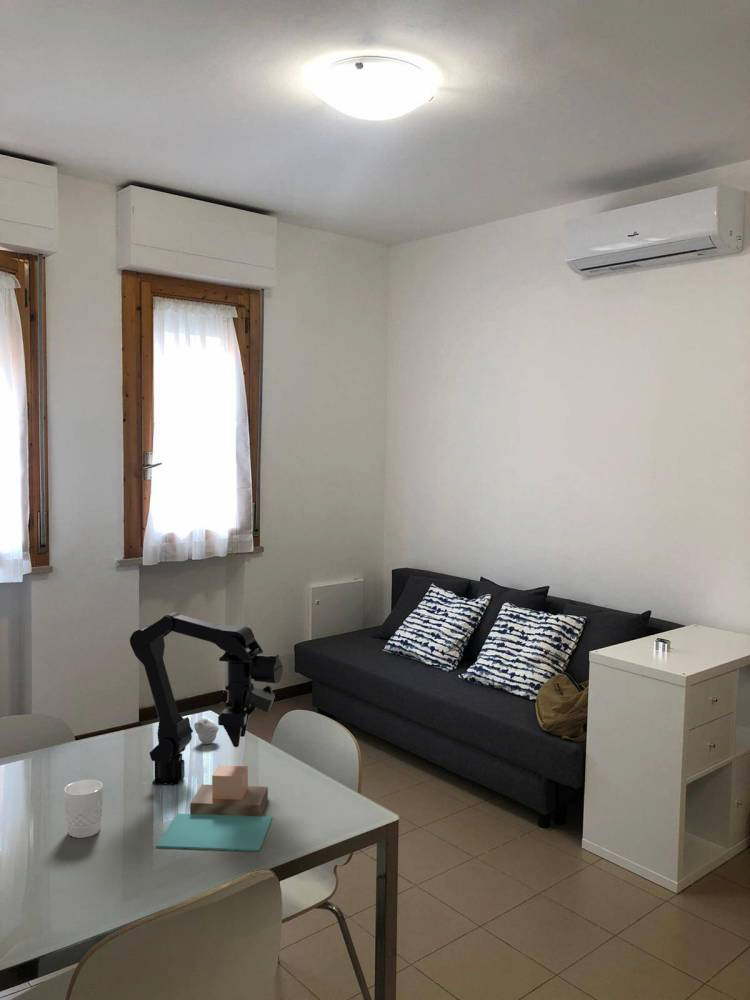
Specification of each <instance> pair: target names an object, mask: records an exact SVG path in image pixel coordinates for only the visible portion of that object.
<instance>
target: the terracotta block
mask: <svg viewBox="0 0 750 1000" xmlns="http://www.w3.org/2000/svg"><path fill="white" fill-rule="evenodd" d="M248 768H249V766H248V765H218V766H217V767H216V769H215V770H214V772H213V774H212V775H211V785H212V799H235V800H242V799H243V797H244V795H245V793H246V791H247V789H248V786H249V775H248V772H249V769H248Z"/></svg>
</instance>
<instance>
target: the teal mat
mask: <svg viewBox="0 0 750 1000" xmlns="http://www.w3.org/2000/svg"><path fill="white" fill-rule="evenodd" d="M272 821H273V816H264V815H261V816H237V815H209V814H190V813H179V812H178V813H177V814H175V817H174V818H173V820H171V822H170V823H169V825H168V827H167V828H166V830H165V832H164V833H163V834H162V836H161V837H160V839H159V841H158V843H156V845H155V846H156V848H162V849H183V848H187V850H188V849H189V850H209V849H212V850H213V849H214V851H235V850H238V852H239V851H241V852H243V851H244V852H260V851H259V850H261V848H262V846H263V843H264V841H265V838H266V836H267V833H268V831H269V828H270V826H271V824H272ZM212 850H211V851H212Z"/></svg>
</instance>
